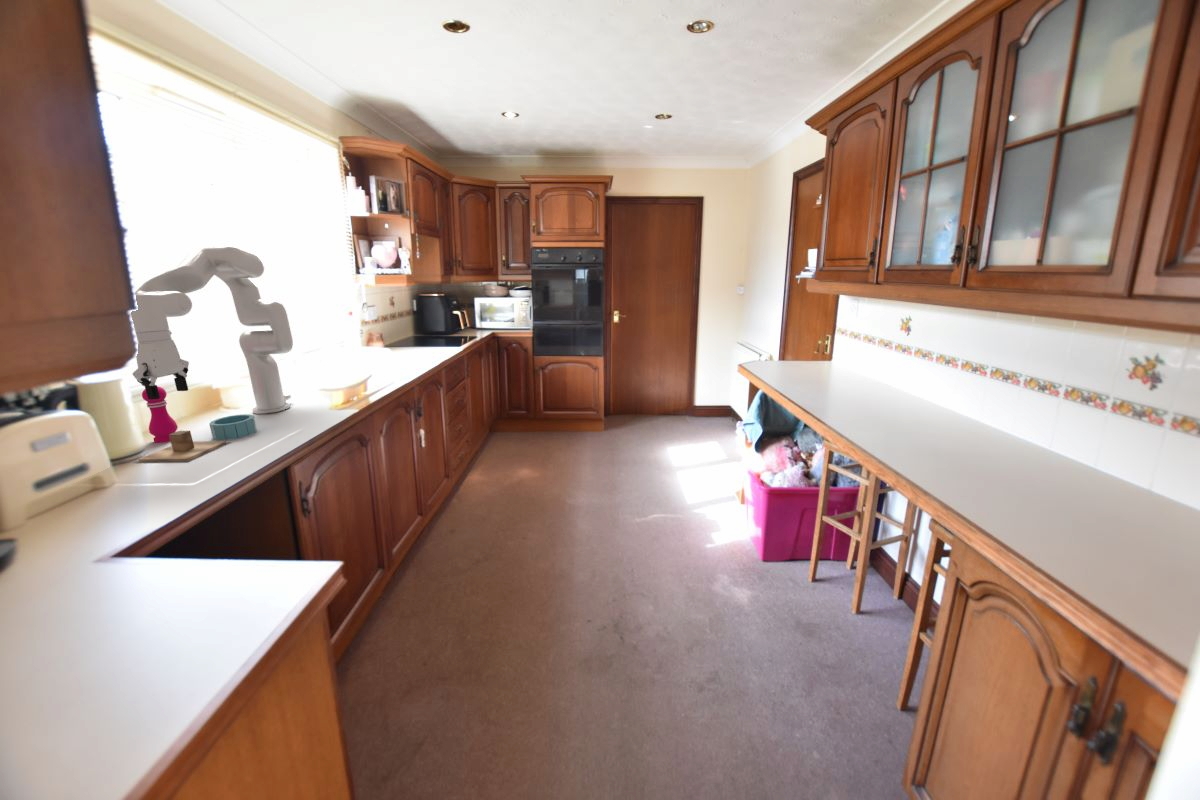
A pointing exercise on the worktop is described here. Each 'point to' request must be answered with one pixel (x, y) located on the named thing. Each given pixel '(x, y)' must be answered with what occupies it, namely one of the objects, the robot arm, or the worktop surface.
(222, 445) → the mat
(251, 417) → the bowl
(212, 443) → the lid
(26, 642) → the worktop surface
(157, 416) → the pepper mill
